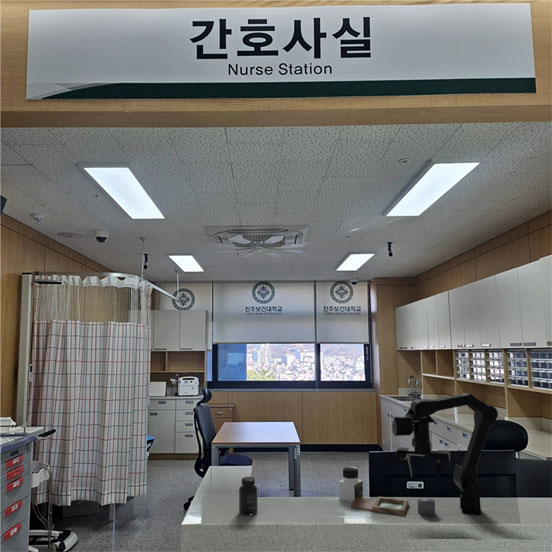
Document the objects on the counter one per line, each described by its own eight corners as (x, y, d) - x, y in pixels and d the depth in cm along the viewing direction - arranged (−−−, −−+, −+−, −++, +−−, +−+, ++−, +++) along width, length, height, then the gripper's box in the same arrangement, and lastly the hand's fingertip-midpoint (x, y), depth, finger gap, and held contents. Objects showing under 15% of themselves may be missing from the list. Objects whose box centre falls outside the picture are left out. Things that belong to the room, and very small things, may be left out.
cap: (436, 511, 177) (435, 498, 178) (434, 517, 172) (434, 503, 172) (419, 509, 180) (418, 496, 180) (417, 515, 174) (416, 501, 175)
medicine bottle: (355, 503, 187) (354, 471, 189) (338, 500, 191) (338, 468, 193) (363, 498, 193) (362, 467, 194) (347, 495, 197) (346, 464, 198)
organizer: (408, 504, 185) (408, 500, 185) (404, 515, 174) (404, 510, 174) (358, 498, 192) (357, 494, 192) (351, 508, 181) (351, 503, 182)
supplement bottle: (260, 509, 181) (259, 476, 182) (254, 516, 174) (254, 482, 176) (242, 508, 183) (242, 475, 184) (236, 515, 176) (236, 480, 177)
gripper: (449, 431, 183) (452, 474, 181) (399, 429, 190) (401, 470, 189) (447, 438, 173) (450, 483, 171) (394, 435, 180) (396, 478, 178)
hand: (424, 478), depth 178 cm, fingers open, 9 cm apart
